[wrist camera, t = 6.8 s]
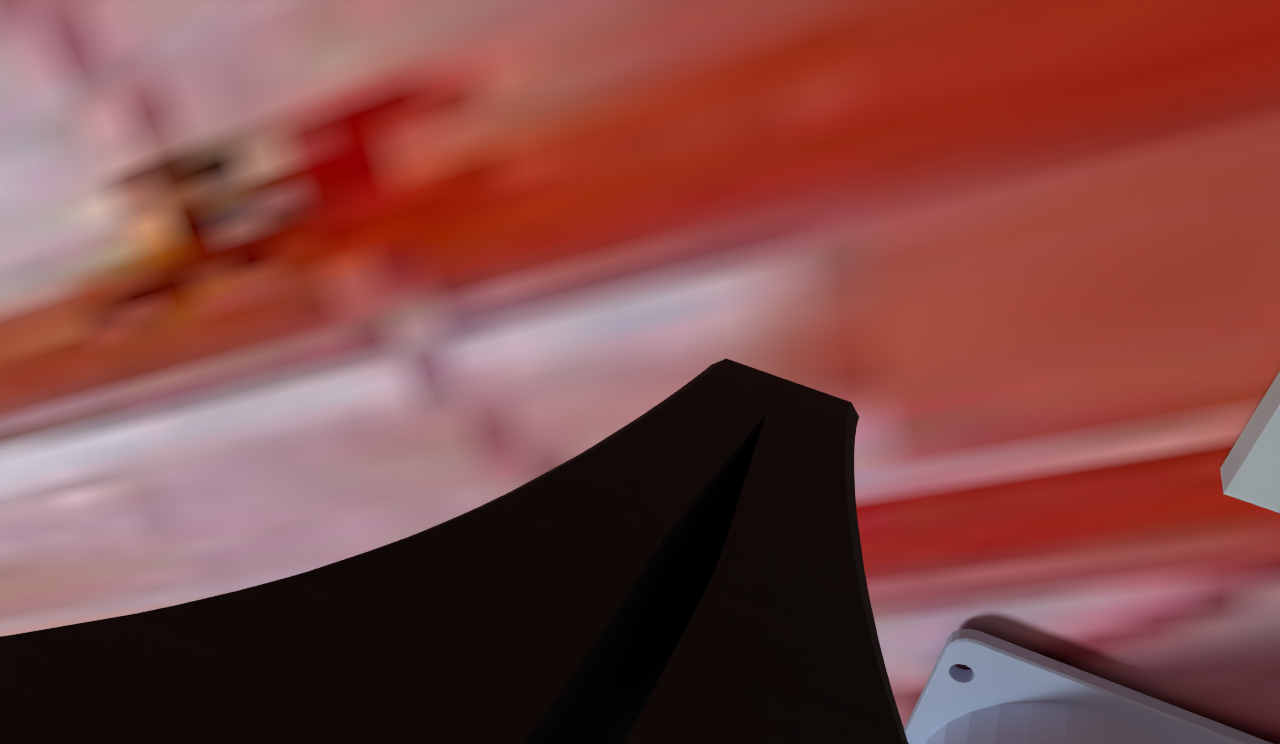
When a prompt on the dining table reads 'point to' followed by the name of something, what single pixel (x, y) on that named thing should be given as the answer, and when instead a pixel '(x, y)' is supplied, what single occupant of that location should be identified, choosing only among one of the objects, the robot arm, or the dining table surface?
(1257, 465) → the grey board with rod
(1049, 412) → the dining table surface
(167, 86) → the dining table surface
